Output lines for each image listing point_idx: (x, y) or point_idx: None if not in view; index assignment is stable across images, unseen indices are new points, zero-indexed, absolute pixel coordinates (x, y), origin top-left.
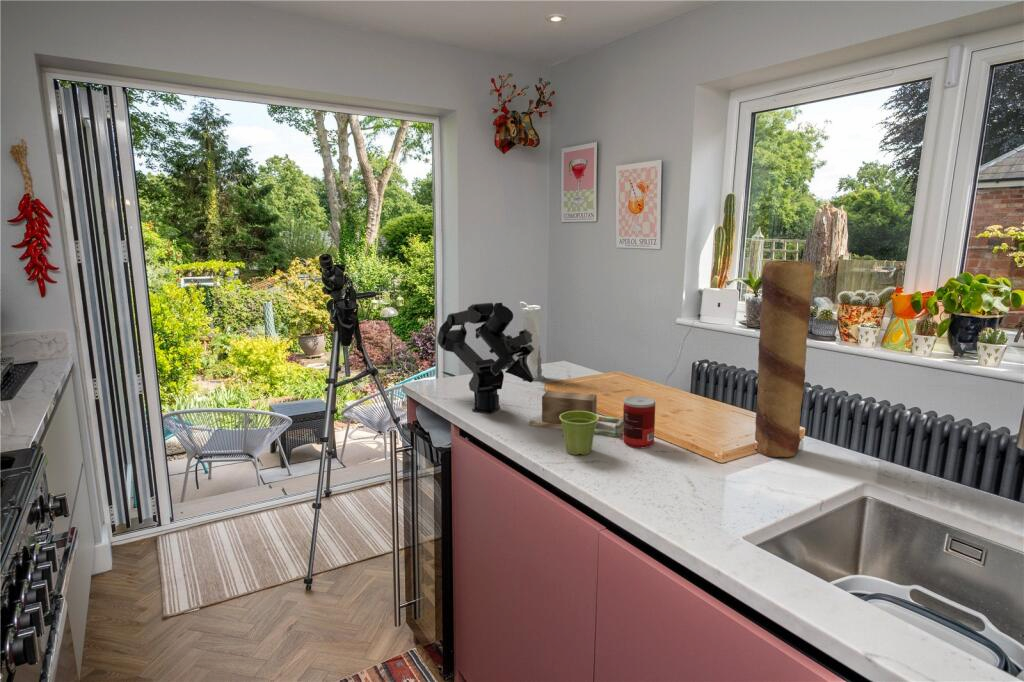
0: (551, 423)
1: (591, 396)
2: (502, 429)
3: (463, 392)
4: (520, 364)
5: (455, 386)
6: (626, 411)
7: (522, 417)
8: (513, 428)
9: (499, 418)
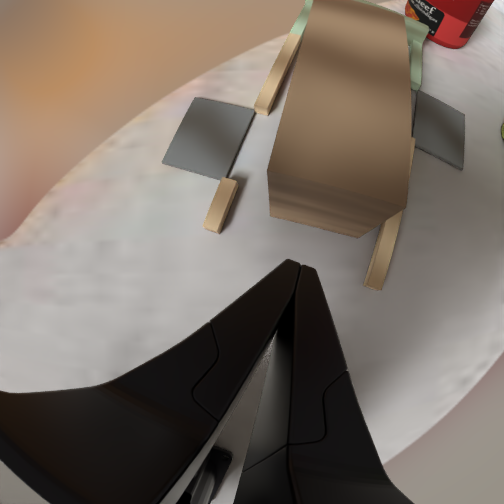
0: None
1: (349, 6)
2: (418, 384)
3: None
4: (393, 490)
5: None
6: (489, 2)
7: None
8: (411, 348)
9: None
